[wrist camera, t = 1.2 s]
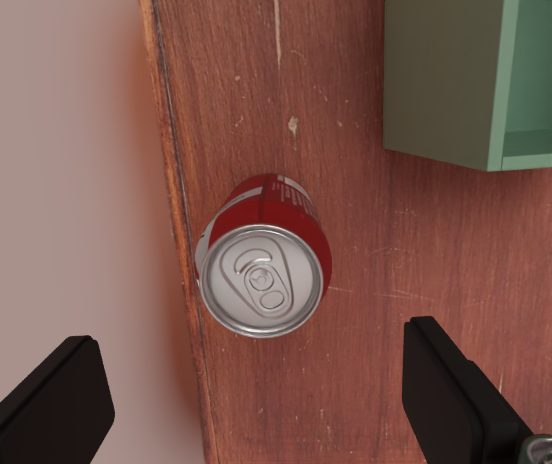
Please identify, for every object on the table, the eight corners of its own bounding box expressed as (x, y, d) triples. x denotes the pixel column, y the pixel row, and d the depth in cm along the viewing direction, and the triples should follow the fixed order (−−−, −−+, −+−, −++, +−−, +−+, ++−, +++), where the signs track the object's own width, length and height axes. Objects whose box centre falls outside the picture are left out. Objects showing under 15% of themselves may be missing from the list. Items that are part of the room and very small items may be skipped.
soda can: (291, 156, 26) (299, 182, 14) (327, 236, 27) (361, 317, 16) (210, 195, 27) (155, 249, 15) (250, 270, 28) (228, 370, 17)
